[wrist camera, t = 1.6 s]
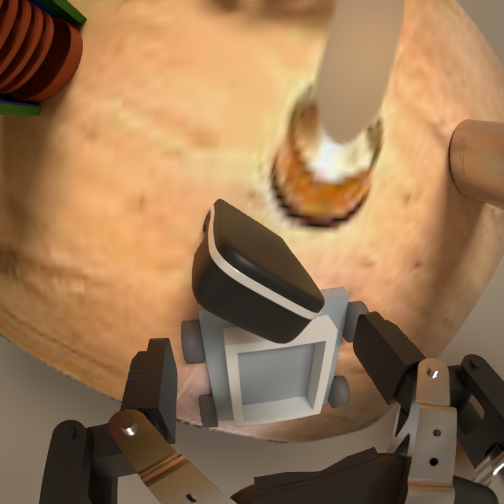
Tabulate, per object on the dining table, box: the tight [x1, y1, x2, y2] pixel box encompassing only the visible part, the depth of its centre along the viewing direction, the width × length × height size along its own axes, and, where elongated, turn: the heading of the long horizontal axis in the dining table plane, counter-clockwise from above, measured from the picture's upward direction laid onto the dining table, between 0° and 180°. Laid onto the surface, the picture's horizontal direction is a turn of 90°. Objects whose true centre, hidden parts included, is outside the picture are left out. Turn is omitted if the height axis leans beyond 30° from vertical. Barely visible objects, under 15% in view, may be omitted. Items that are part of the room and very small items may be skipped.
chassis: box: [181, 287, 369, 428], centre depth 28 cm, size 17×17×4 cm
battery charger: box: [192, 199, 325, 344], centre depth 18 cm, size 7×4×11 cm, turn 55°
